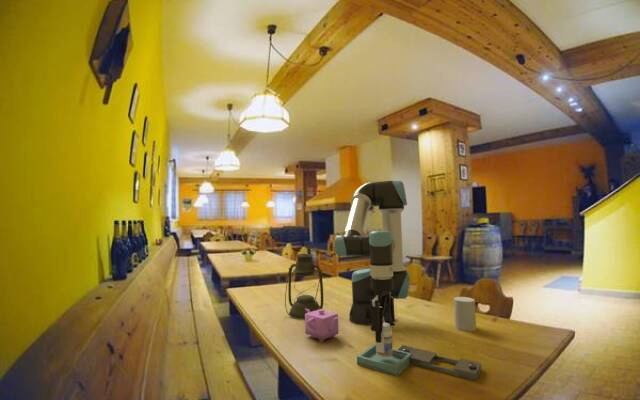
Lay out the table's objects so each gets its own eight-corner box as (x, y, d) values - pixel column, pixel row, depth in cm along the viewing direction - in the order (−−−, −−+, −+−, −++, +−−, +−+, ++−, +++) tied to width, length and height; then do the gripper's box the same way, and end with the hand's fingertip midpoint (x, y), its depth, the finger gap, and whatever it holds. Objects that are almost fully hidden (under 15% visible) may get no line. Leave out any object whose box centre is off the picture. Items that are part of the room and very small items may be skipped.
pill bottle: (374, 351, 107) (373, 321, 108) (390, 350, 108) (389, 321, 108) (378, 358, 102) (377, 327, 103) (395, 357, 102) (394, 326, 103)
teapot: (341, 331, 135) (340, 305, 136) (340, 343, 122) (339, 314, 122) (305, 331, 136) (304, 305, 137) (301, 343, 123) (300, 314, 123)
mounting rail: (393, 359, 107) (392, 351, 107) (402, 350, 114) (402, 343, 114) (476, 380, 92) (475, 371, 92) (481, 369, 98) (481, 361, 99)
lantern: (331, 311, 164) (329, 252, 166) (315, 321, 149) (313, 256, 151) (297, 307, 174) (296, 251, 176) (278, 316, 158) (277, 255, 160)
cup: (478, 331, 131) (477, 302, 131) (457, 330, 132) (456, 301, 133) (473, 325, 139) (471, 297, 139) (453, 324, 140) (452, 296, 141)
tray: (357, 364, 104) (356, 356, 104) (374, 351, 114) (373, 344, 114) (397, 376, 96) (397, 367, 96) (412, 361, 105) (411, 353, 106)
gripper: (379, 283, 97) (382, 361, 95) (403, 274, 112) (406, 342, 110) (358, 280, 101) (360, 355, 100) (383, 272, 116) (385, 337, 115)
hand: (384, 348), depth 105 cm, fingers closed on pill bottle, 5 cm apart
